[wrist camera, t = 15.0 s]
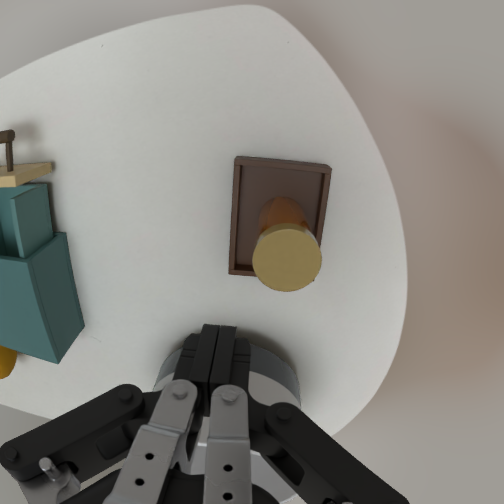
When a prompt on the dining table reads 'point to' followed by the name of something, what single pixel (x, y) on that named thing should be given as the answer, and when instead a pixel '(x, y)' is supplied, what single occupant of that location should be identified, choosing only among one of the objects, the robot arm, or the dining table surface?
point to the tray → (265, 188)
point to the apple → (7, 361)
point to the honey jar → (285, 246)
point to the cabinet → (40, 302)
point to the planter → (262, 390)
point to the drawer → (22, 205)
